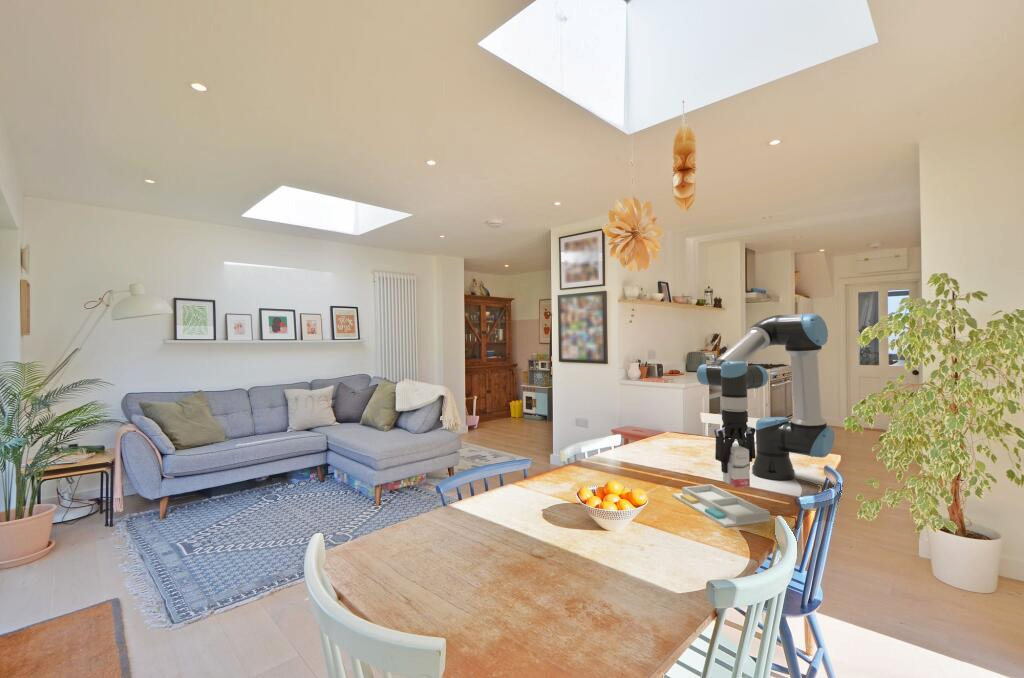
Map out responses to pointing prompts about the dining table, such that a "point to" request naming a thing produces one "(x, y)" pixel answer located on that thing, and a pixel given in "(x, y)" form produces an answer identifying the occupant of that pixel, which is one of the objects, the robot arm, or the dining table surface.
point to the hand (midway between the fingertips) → (735, 481)
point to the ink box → (739, 466)
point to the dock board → (722, 505)
